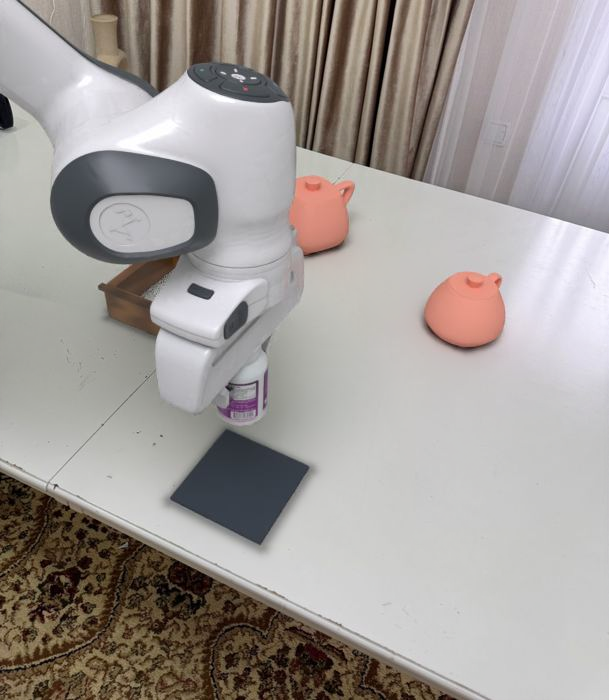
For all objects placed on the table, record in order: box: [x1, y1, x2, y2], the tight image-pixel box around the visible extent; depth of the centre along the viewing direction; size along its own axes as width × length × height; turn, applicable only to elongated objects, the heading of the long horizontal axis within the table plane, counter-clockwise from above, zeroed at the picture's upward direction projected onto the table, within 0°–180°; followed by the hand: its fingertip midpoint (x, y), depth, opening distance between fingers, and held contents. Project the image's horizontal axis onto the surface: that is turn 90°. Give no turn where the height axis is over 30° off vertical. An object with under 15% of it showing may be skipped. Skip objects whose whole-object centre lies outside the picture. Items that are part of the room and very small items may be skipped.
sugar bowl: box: [423, 270, 506, 349], centre depth 95 cm, size 12×14×10 cm
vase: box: [89, 13, 132, 73], centre depth 119 cm, size 17×17×30 cm
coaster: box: [169, 428, 310, 546], centre depth 74 cm, size 12×12×1 cm
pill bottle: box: [215, 343, 269, 427], centre depth 62 cm, size 5×5×10 cm
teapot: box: [289, 174, 356, 256], centre depth 111 cm, size 13×20×12 cm, turn 122°
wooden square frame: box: [97, 255, 181, 337], centre depth 97 cm, size 17×18×6 cm
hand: (240, 381), depth 62 cm, fingers closed on pill bottle, 5 cm apart
